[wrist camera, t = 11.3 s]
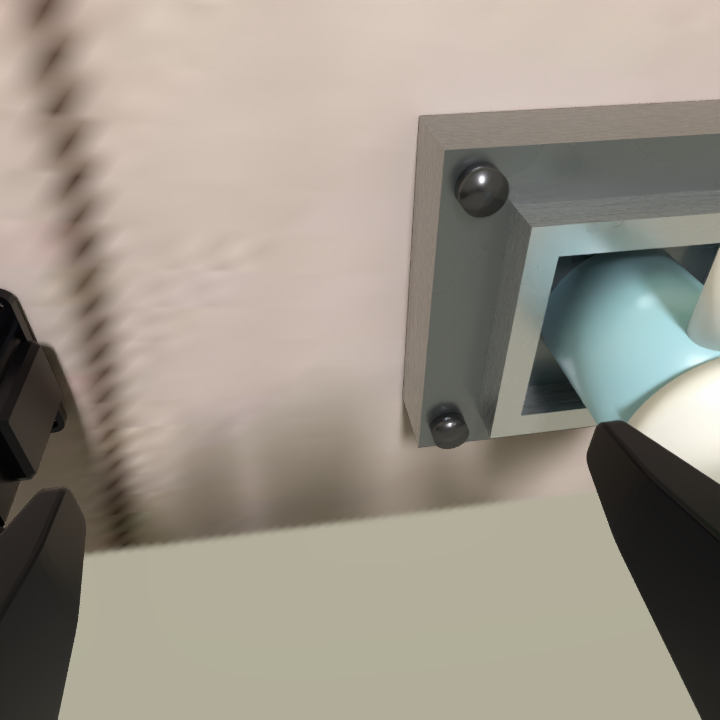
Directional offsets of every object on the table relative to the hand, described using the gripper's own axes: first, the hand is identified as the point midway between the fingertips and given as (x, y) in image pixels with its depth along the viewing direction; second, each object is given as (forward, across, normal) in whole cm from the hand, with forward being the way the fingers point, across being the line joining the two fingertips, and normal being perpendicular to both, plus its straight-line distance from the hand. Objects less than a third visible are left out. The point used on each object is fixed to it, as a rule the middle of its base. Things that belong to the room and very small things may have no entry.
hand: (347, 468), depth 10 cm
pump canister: (+9, -10, +3) cm, 14 cm away
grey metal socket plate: (+12, -10, +4) cm, 16 cm away
